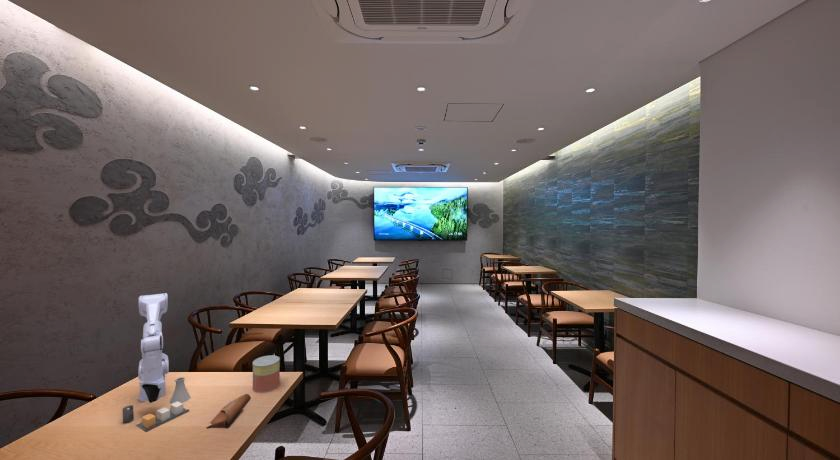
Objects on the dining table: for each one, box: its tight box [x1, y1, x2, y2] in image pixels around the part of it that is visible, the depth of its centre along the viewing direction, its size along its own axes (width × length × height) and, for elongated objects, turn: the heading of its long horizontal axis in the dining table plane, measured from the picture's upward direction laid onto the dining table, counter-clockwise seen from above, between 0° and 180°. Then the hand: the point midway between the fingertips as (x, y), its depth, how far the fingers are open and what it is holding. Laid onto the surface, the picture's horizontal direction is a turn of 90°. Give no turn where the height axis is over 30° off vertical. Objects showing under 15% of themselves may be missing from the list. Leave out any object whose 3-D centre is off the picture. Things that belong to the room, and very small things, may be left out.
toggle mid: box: [156, 406, 170, 421], centre depth 121 cm, size 4×2×3 cm, turn 63°
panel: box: [135, 407, 190, 433], centre depth 121 cm, size 8×14×2 cm, turn 153°
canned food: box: [252, 354, 281, 394], centre depth 146 cm, size 11×11×12 cm
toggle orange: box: [141, 413, 157, 428], centre depth 117 cm, size 4×2×3 cm, turn 63°
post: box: [121, 404, 135, 424], centre depth 119 cm, size 4×4×6 cm
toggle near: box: [169, 401, 184, 415], centre depth 125 cm, size 4×2×3 cm, turn 63°
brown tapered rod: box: [206, 393, 251, 430], centre depth 125 cm, size 18×7×7 cm
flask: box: [169, 376, 191, 404], centre depth 133 cm, size 7×7×10 cm
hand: (153, 401), depth 124 cm, fingers closed
